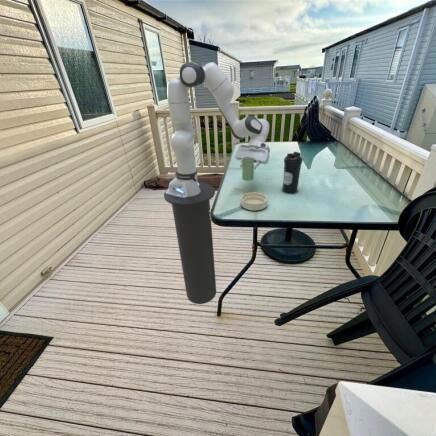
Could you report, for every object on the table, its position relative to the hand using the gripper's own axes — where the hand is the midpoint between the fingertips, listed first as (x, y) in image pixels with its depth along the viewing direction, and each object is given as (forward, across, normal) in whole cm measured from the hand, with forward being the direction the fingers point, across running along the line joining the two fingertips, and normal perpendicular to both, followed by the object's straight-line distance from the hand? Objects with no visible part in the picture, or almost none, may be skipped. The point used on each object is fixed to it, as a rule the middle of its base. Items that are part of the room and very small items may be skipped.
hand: (247, 168), depth 139 cm
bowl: (+19, +10, +3) cm, 22 cm away
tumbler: (+4, 0, +5) cm, 7 cm away
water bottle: (0, +21, +23) cm, 31 cm away
